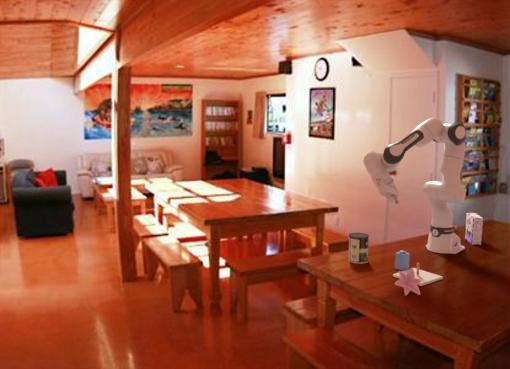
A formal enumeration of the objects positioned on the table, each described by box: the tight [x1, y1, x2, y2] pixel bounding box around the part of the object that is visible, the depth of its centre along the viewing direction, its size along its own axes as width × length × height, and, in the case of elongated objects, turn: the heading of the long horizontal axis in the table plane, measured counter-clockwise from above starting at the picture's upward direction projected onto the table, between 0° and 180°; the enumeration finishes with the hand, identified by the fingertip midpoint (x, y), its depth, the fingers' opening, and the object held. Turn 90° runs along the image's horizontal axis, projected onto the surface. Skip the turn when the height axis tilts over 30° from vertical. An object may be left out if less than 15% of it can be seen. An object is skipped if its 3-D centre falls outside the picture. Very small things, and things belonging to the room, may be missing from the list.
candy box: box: [464, 212, 484, 246], centre depth 292 cm, size 14×6×16 cm, turn 172°
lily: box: [394, 267, 421, 296], centre depth 214 cm, size 12×12×10 cm
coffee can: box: [348, 232, 370, 265], centre depth 257 cm, size 10×10×14 cm
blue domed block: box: [394, 250, 410, 272], centre depth 244 cm, size 5×5×9 cm
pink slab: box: [392, 262, 443, 287], centre depth 231 cm, size 16×16×7 cm
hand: (395, 203), depth 250 cm, fingers open, 8 cm apart
